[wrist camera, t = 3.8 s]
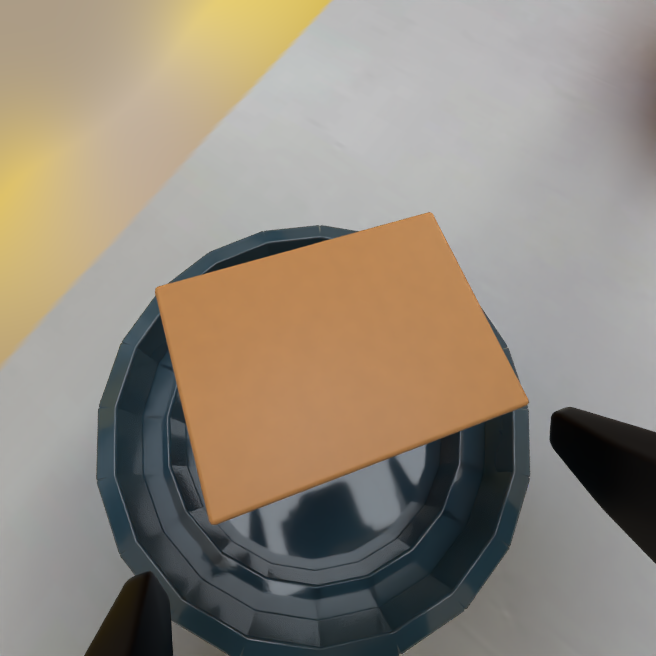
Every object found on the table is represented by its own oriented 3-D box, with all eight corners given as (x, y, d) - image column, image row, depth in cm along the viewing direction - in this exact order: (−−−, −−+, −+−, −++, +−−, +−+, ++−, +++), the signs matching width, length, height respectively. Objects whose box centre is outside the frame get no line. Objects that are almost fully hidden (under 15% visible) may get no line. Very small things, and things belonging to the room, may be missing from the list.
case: (391, 448, 17) (537, 406, 7) (268, 495, 16) (205, 534, 6) (357, 361, 19) (433, 206, 8) (241, 400, 18) (148, 284, 7)
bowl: (394, 681, 15) (441, 784, 10) (87, 502, 17) (-7, 514, 12) (505, 363, 20) (575, 324, 15) (258, 244, 22) (244, 173, 16)
